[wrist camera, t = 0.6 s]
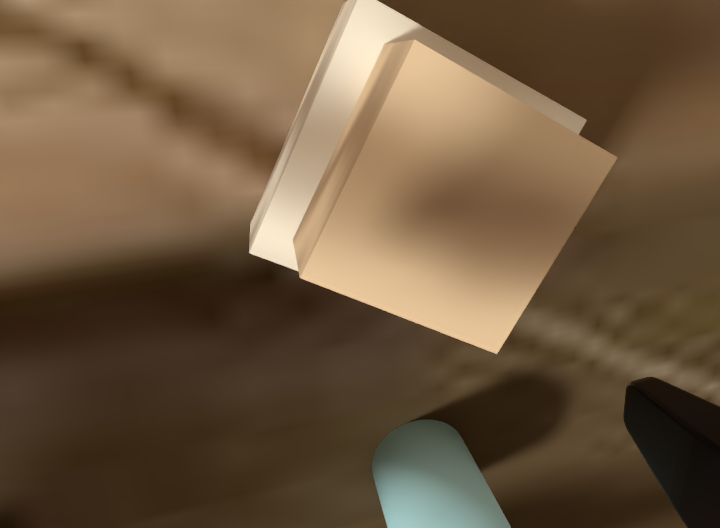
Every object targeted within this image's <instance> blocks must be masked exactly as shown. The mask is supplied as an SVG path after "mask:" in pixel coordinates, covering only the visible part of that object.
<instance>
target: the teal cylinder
mask: <svg viewBox="0 0 720 528" xmlns="http://www.w3.org/2000/svg"><path fill="white" fill-rule="evenodd" d="M372 474H373V478H374V481H375V485H376V488H377V492H378V495H379V499H380V503H381V506H382V510H383V513H384V517H385V520H386V524H387V527H388V528H511V526H510V525H509V523H508V521H507V519H506V517H505V515H504V514H503V512H502V510H501V508H500V506H499V505H498V503H497V501H496V499H495V497H494V495H493V494H492V492H491V490H490V488H489V486H488V485H487V483H486V481H485V479H484V477H483V475H482V474H481V472H480V470H479V468H478V466H477V465H476V463H475V461H474V459H473V457H472V455H471V454H470V452H469V450H468V448H467V446H466V445H465V443H464V441H463V439H462V437H461V436H460V434H459V433H458V432H457V431H456V429H454V428H453V427H452V426H450V425H448V424H447V423H444V422H442V421H438V420H431V419H423V420H416V421H412V422H409V423H406V424H403V425H401V426H399V427H397V428H396V429H394V430H393V431H391V432H390V433H389V434H388V435H387V436H386V437H384V438H383V440H382V441H381V442H380V443H379V445H378V446H377V448H376V450H375V452H374V455H373V458H372Z"/></svg>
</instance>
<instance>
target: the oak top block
mask: <svg viewBox="0 0 720 528" xmlns="http://www.w3.org/2000/svg"><path fill="white" fill-rule="evenodd" d="M617 158H618V157H616V156H614V155H612V154H611V153H609V152H607V151H606V150H604V149H602V148H600V147H599V146H597V145H595V144H594V143H592V142H590V141H588V140H587V139H585V138H583V137H582V136H580V135H578V134H576V133H575V132H573V131H571V130H569V129H568V128H566V127H564V126H563V125H561V124H559V123H557V122H556V121H554V120H552V119H551V118H549V117H547V116H545V115H544V114H542V113H540V112H539V111H537V110H535V109H533V108H532V107H530V106H528V105H527V104H525V103H523V102H521V101H520V100H518V99H516V98H514V97H513V96H511V95H509V94H508V93H506V92H504V91H502V90H501V89H499V88H497V87H496V86H494V85H492V84H490V83H489V82H487V81H485V80H484V79H482V78H480V77H478V76H477V75H475V74H473V73H472V72H470V71H468V70H466V69H465V68H463V67H461V66H459V65H458V64H456V63H454V62H453V61H451V60H449V59H447V58H446V57H444V56H442V55H441V54H439V53H437V52H435V51H434V50H432V49H430V48H429V47H427V46H425V45H423V44H422V43H420V42H418V41H417V40H408V41H402V42H395V43H388V44H384V46H383V48H382V50H381V52H380V54H379V56H378V58H377V61H376V63H375V65H374V67H373V69H372V71H371V73H370V76H369V78H368V80H367V82H366V84H365V86H364V88H363V91H362V93H361V95H360V97H359V99H358V101H357V103H356V105H355V108H354V110H353V112H352V114H351V116H350V118H349V120H348V123H347V125H346V127H345V129H344V131H343V133H342V135H341V137H340V140H339V142H338V144H337V146H336V148H335V150H334V152H333V155H332V157H331V159H330V161H329V163H328V165H327V167H326V169H325V172H324V174H323V176H322V178H321V180H320V182H319V184H318V187H317V189H316V191H315V193H314V195H313V197H312V199H311V201H310V204H309V206H308V208H307V210H306V212H305V214H304V216H303V219H302V221H301V223H300V225H299V227H298V229H297V231H296V234H295V236H294V238H293V245H294V250H295V255H296V260H297V265H298V270H299V275H300V278H302V279H304V280H307V281H309V282H312V283H315V284H317V285H320V286H322V287H325V288H328V289H330V290H333V291H335V292H338V293H340V294H343V295H346V296H348V297H351V298H353V299H356V300H359V301H361V302H364V303H366V304H369V305H371V306H374V307H377V308H379V309H382V310H384V311H387V312H390V313H392V314H395V315H397V316H400V317H402V318H405V319H408V320H410V321H413V322H415V323H418V324H421V325H423V326H426V327H428V328H431V329H433V330H436V331H439V332H441V333H444V334H446V335H449V336H452V337H454V338H457V339H459V340H462V341H464V342H467V343H470V344H472V345H475V346H477V347H480V348H483V349H485V350H488V351H490V352H493V353H495V354H497V353H498V352H499V350H500V348H501V347H502V345H503V343H504V342H505V340H506V338H507V337H508V335H509V334H510V332H511V330H512V329H513V327H514V325H515V324H516V322H517V321H518V319H519V317H520V316H521V314H522V312H523V311H524V309H525V308H526V306H527V304H528V303H529V301H530V299H531V298H532V296H533V295H534V293H535V291H536V290H537V288H538V286H539V285H540V283H541V281H542V280H543V278H544V277H545V275H546V273H547V272H548V270H549V268H550V267H551V265H552V264H553V262H554V260H555V259H556V257H557V255H558V254H559V252H560V251H561V249H562V247H563V246H564V244H565V242H566V241H567V239H568V237H569V236H570V234H571V233H572V231H573V229H574V228H575V226H576V224H577V223H578V221H579V220H580V218H581V216H582V215H583V213H584V211H585V210H586V208H587V207H588V205H589V203H590V202H591V200H592V198H593V197H594V195H595V193H596V192H597V190H598V189H599V187H600V185H601V184H602V182H603V180H604V179H605V177H606V176H607V174H608V172H609V171H610V169H611V167H612V166H613V164H614V163H615V161H616V159H617Z"/></svg>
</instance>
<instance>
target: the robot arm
mask: <svg viewBox="0 0 720 528" xmlns="http://www.w3.org/2000/svg"><path fill="white" fill-rule="evenodd" d="M624 422H625V426H626V428H627V430H628V432H629V434H630V435H631V437H632V439H633V440H634V442H635V444H636V445H637V447H638V449H639V450H640V452H641V454H642V455H643V457H644V459H645V460H646V462H647V464H648V465H649V467H650V469H651V470H652V472H653V474H654V475H655V477H656V479H657V480H658V482H659V484H660V485H661V487H662V489H663V490H664V492H665V494H666V495H667V497H668V499H669V500H670V502H671V504H672V505H673V507H674V508H675V510H676V511H677V513H678V514H679V516H680V517H681V519H682V520H683V522H684V523H685V524H686V526H687V527H688V528H720V407H719V406H717V405H715V404H713V403H711V402H708V401H706V400H704V399H702V398H700V397H697V396H695V395H693V394H691V393H689V392H686V391H684V390H682V389H680V388H677V387H675V386H673V385H671V384H669V383H666V382H664V381H662V380H660V379H657V378H654V377H646V378H642V379H639V380H635V381H632V382H630V383H629V384H628V385H627V387H626V395H625V405H624Z"/></svg>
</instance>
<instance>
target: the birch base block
mask: <svg viewBox="0 0 720 528" xmlns="http://www.w3.org/2000/svg"><path fill="white" fill-rule="evenodd" d="M408 40H417V41H418V42H420V43H422V44H423V45H425V46H427V47H429V48H430V49H432V50H434V51H435V52H437V53H439V54H441V55H442V56H444V57H446V58H447V59H449V60H451V61H453V62H454V63H456V64H458V65H459V66H461V67H463V68H465V69H466V70H468V71H470V72H472V73H473V74H475V75H477V76H478V77H480V78H482V79H484V80H485V81H487V82H489V83H490V84H492V85H494V86H496V87H497V88H499V89H501V90H502V91H504V92H506V93H508V94H509V95H511V96H513V97H514V98H516V99H518V100H520V101H521V102H523V103H525V104H527V105H528V106H530V107H532V108H533V109H535V110H537V111H539V112H540V113H542V114H544V115H545V116H547V117H549V118H551V119H552V120H554V121H556V122H557V123H559V124H561V125H563V126H564V127H566V128H568V129H569V130H571V131H573V132H575V133H576V134H578V135H579V133H580V131H581V130H582V128H583V126H584V124H585V123H586V121H587V120H586V119H584V118H583V117H581V116H579V115H577V114H576V113H574V112H572V111H570V110H569V109H567V108H565V107H563V106H562V105H560V104H558V103H556V102H555V101H553V100H551V99H549V98H548V97H546V96H544V95H542V94H540V93H539V92H537V91H535V90H533V89H532V88H530V87H528V86H526V85H525V84H523V83H521V82H519V81H518V80H516V79H514V78H512V77H511V76H509V75H507V74H505V73H504V72H502V71H500V70H498V69H497V68H495V67H493V66H491V65H490V64H488V63H486V62H484V61H483V60H481V59H479V58H477V57H476V56H474V55H472V54H470V53H469V52H467V51H465V50H463V49H462V48H460V47H458V46H456V45H455V44H453V43H451V42H449V41H447V40H446V39H444V38H442V37H440V36H439V35H437V34H435V33H433V32H432V31H430V30H428V29H426V28H425V27H423V26H421V25H419V24H418V23H416V22H414V21H412V20H411V19H409V18H407V17H405V16H404V15H402V14H400V13H398V12H397V11H395V10H393V9H391V8H390V7H388V6H386V5H384V4H383V3H381V2H379V1H377V0H348V1H346V2H345V3H343V5H342V7H341V10H340V12H339V15H338V17H337V19H336V22H335V24H334V26H333V29H332V31H331V34H330V36H329V38H328V41H327V43H326V45H325V48H324V50H323V53H322V55H321V57H320V60H319V62H318V64H317V67H316V69H315V72H314V74H313V76H312V79H311V81H310V83H309V86H308V88H307V91H306V93H305V95H304V98H303V100H302V102H301V105H300V107H299V110H298V112H297V114H296V117H295V119H294V121H293V124H292V126H291V129H290V131H289V133H288V136H287V138H286V140H285V143H284V145H283V148H282V150H281V152H280V155H279V157H278V159H277V162H276V164H275V167H274V169H273V171H272V174H271V176H270V178H269V181H268V183H267V186H266V188H265V190H264V193H263V195H262V197H261V200H260V202H259V205H258V207H257V209H256V212H255V214H254V216H253V219H252V221H251V224H250V246H249V253H251V254H253V255H256V256H259V257H261V258H264V259H267V260H270V261H272V262H275V263H278V264H280V265H283V266H286V267H288V268H291V269H294V270H296V271H299V270H298V265H297V260H296V255H295V250H294V245H293V238H294V236H295V234H296V231H297V229H298V227H299V225H300V223H301V221H302V219H303V216H304V214H305V212H306V210H307V208H308V206H309V204H310V201H311V199H312V197H313V195H314V193H315V191H316V189H317V187H318V184H319V182H320V180H321V178H322V176H323V174H324V172H325V169H326V167H327V165H328V163H329V161H330V159H331V157H332V155H333V152H334V150H335V148H336V146H337V144H338V142H339V140H340V137H341V135H342V133H343V131H344V129H345V127H346V125H347V123H348V120H349V118H350V116H351V114H352V112H353V110H354V108H355V105H356V103H357V101H358V99H359V97H360V95H361V93H362V91H363V88H364V86H365V84H366V82H367V80H368V78H369V76H370V73H371V71H372V69H373V67H374V65H375V63H376V61H377V58H378V56H379V54H380V52H381V50H382V48H383V46H384V44H388V43H395V42H402V41H408Z"/></svg>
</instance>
